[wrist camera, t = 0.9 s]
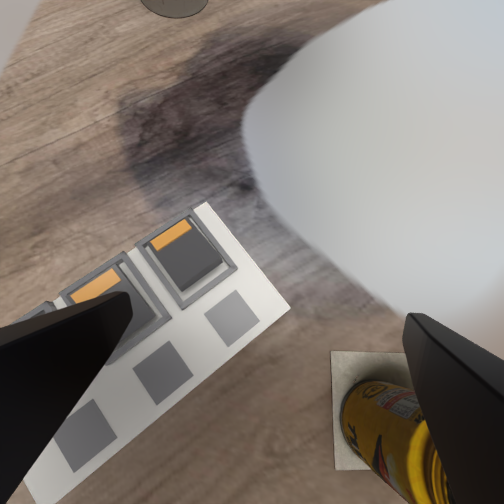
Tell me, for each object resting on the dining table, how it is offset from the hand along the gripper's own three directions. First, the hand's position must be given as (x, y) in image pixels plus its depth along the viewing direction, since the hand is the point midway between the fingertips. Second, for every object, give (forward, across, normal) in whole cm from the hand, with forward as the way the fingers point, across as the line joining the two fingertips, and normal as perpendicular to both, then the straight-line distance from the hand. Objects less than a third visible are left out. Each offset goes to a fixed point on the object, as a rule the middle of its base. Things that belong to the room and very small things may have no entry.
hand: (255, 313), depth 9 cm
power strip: (+8, +13, +10) cm, 18 cm away
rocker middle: (+8, +12, +5) cm, 15 cm away
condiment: (+11, -7, +15) cm, 20 cm away
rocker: (+11, +7, +3) cm, 13 cm away
